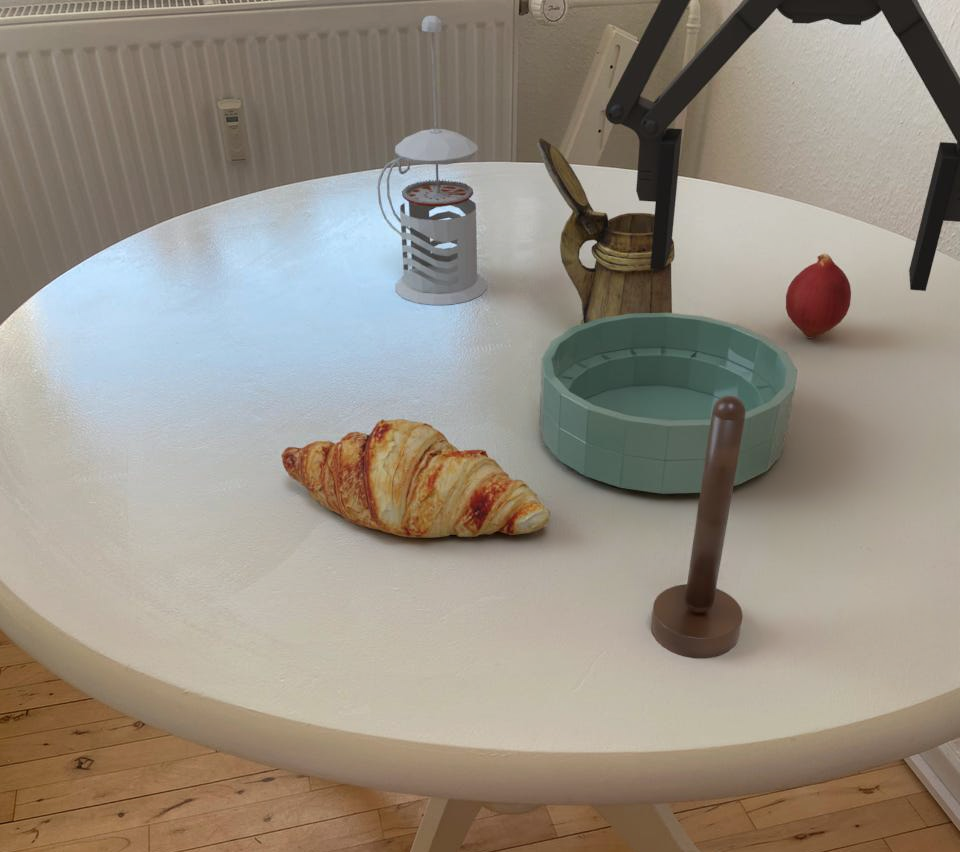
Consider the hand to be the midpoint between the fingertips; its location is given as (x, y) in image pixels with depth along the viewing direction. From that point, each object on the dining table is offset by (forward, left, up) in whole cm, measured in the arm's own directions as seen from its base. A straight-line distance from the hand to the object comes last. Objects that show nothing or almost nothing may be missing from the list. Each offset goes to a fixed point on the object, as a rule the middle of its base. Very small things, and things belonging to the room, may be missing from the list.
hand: (785, 271), depth 58 cm
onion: (-3, -42, -22) cm, 47 cm away
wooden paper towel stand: (+2, +5, -22) cm, 22 cm away
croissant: (+24, -3, -22) cm, 32 cm away
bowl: (+8, -19, -22) cm, 30 cm away
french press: (+36, -45, -22) cm, 61 cm away
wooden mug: (+16, -36, -22) cm, 45 cm away
